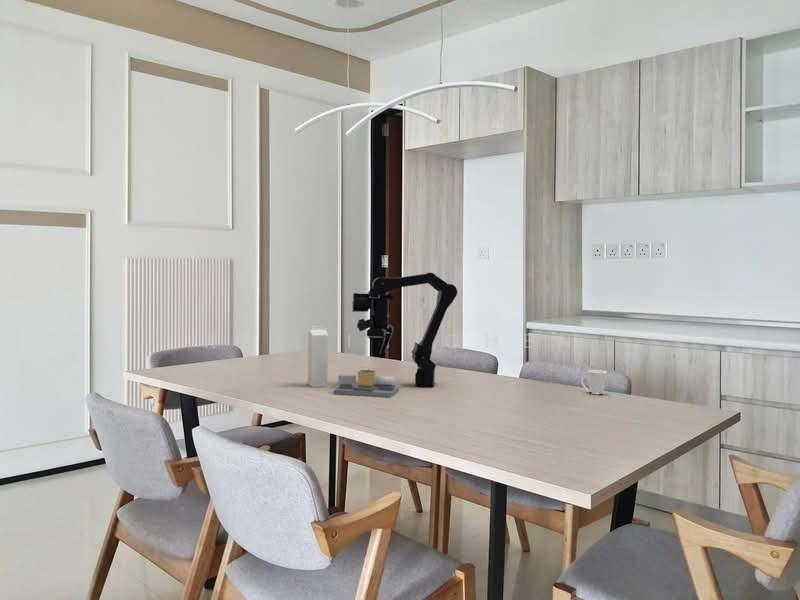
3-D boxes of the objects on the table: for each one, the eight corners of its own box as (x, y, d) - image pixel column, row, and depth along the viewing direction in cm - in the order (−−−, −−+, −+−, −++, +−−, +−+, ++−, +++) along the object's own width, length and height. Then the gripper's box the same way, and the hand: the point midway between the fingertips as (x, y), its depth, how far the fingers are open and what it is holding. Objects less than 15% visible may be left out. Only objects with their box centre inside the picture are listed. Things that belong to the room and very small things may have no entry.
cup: (599, 396, 222) (600, 373, 222) (575, 392, 230) (576, 369, 230) (611, 394, 226) (611, 371, 226) (587, 390, 234) (587, 368, 234)
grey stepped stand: (398, 391, 226) (398, 374, 225) (390, 397, 214) (391, 379, 214) (344, 388, 230) (344, 371, 230) (333, 394, 218) (333, 376, 218)
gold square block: (375, 387, 224) (375, 369, 224) (371, 390, 219) (372, 372, 219) (361, 386, 225) (361, 369, 225) (357, 389, 220) (357, 371, 220)
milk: (307, 384, 236) (308, 325, 236) (323, 384, 239) (324, 324, 238) (311, 387, 231) (311, 326, 230) (327, 386, 233) (328, 326, 232)
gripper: (365, 309, 245) (365, 350, 246) (352, 312, 227) (352, 356, 228) (393, 310, 243) (393, 351, 244) (383, 313, 225) (383, 357, 226)
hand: (380, 354), depth 235 cm, fingers open, 9 cm apart
